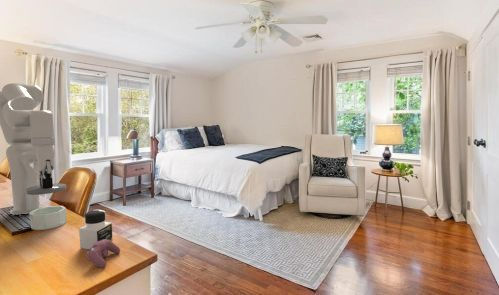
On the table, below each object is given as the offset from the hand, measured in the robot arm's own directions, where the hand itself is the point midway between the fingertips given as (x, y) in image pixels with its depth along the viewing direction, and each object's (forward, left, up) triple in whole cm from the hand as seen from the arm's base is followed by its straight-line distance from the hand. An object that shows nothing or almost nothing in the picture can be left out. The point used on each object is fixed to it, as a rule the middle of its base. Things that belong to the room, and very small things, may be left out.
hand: (46, 186), depth 110 cm
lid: (0, 0, -1) cm, 1 cm away
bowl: (0, 0, -16) cm, 16 cm away
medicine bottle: (+34, +5, -16) cm, 38 cm away
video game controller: (+46, +3, -16) cm, 49 cm away
